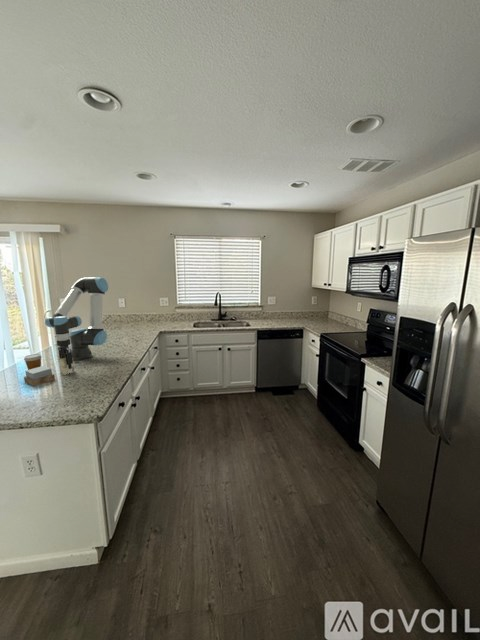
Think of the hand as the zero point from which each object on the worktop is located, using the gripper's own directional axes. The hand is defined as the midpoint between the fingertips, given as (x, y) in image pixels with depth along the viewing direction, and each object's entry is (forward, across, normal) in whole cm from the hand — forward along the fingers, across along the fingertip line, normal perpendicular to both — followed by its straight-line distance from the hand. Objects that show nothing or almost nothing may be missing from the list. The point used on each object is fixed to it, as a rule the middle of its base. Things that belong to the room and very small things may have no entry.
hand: (67, 371), depth 178 cm
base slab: (+1, 0, -16) cm, 16 cm away
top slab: (-3, 0, -16) cm, 16 cm away
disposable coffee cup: (+1, -19, -12) cm, 22 cm away
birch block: (0, 0, 0) cm, 0 cm away
